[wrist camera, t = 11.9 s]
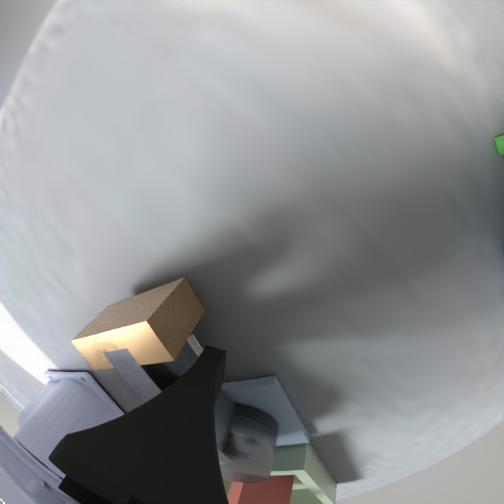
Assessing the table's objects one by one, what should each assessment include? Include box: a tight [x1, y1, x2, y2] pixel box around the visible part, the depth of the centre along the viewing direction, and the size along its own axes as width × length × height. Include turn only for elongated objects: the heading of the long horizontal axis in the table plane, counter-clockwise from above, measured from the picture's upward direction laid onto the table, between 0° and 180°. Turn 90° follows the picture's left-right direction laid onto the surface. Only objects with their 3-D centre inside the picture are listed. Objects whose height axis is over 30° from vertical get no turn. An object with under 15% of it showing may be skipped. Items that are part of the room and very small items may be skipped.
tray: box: [223, 442, 337, 504], centre depth 17 cm, size 11×11×2 cm
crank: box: [72, 277, 279, 483], centre depth 12 cm, size 12×5×3 cm, turn 25°
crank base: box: [187, 334, 310, 446], centre depth 14 cm, size 6×10×1 cm, turn 24°
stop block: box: [227, 475, 294, 504], centre depth 15 cm, size 4×4×5 cm
